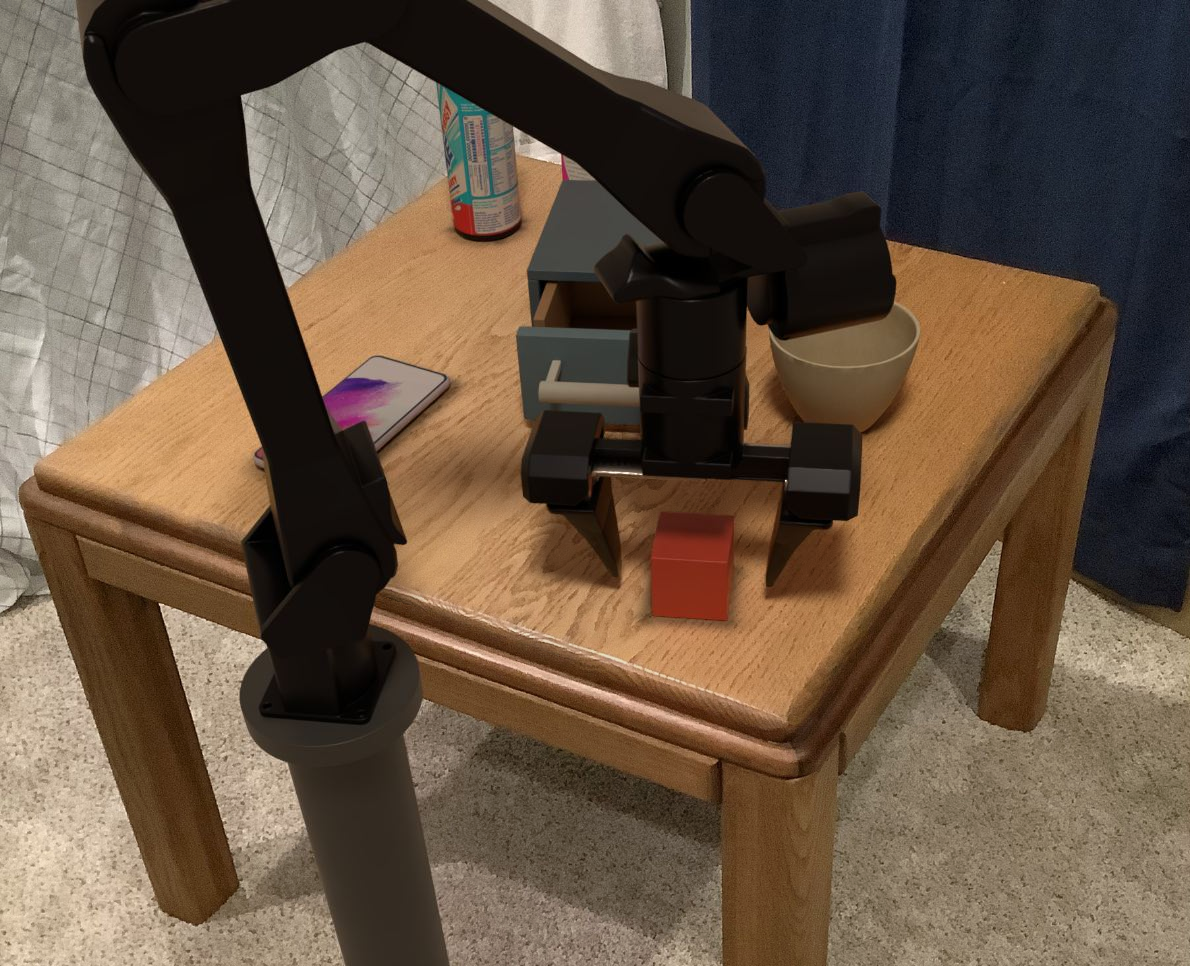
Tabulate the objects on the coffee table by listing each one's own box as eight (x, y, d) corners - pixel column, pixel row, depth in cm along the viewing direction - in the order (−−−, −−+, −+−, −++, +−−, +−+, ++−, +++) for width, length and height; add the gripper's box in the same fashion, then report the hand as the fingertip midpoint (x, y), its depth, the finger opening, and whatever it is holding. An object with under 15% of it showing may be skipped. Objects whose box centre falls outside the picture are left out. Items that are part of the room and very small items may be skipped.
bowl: (861, 365, 105) (869, 277, 100) (937, 434, 98) (950, 342, 93) (740, 400, 102) (742, 311, 97) (810, 473, 95) (816, 381, 90)
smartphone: (453, 375, 105) (331, 484, 95) (454, 385, 105) (333, 494, 96) (373, 351, 108) (246, 455, 98) (375, 361, 108) (249, 466, 99)
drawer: (678, 463, 95) (677, 375, 91) (511, 454, 97) (502, 368, 92) (705, 327, 108) (705, 245, 104) (557, 322, 110) (551, 240, 105)
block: (727, 621, 85) (728, 562, 82) (651, 616, 85) (650, 557, 82) (733, 572, 88) (734, 514, 85) (661, 568, 89) (659, 510, 86)
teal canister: (481, 206, 127) (463, 35, 117) (535, 221, 125) (521, 46, 115) (440, 233, 124) (417, 59, 114) (494, 249, 121) (476, 72, 111)
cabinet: (704, 382, 104) (705, 275, 98) (535, 375, 106) (526, 269, 100) (722, 284, 115) (724, 182, 109) (569, 279, 117) (562, 179, 111)
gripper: (873, 283, 80) (853, 506, 90) (546, 272, 83) (563, 490, 93) (869, 391, 72) (848, 622, 82) (507, 376, 74) (531, 601, 85)
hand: (692, 578), depth 86 cm, fingers open, 9 cm apart
